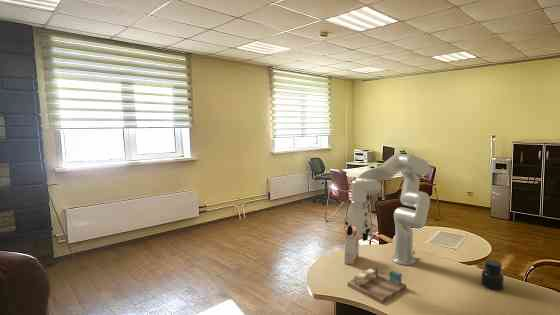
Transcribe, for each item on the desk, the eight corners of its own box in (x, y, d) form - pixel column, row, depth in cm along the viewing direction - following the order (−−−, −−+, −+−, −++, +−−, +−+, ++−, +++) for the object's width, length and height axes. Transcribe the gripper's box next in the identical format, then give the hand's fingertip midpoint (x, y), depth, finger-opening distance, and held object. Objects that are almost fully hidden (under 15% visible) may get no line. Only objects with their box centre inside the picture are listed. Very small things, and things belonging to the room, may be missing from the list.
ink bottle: (500, 283, 155) (501, 260, 154) (507, 292, 147) (508, 268, 145) (478, 280, 158) (479, 257, 157) (483, 289, 150) (484, 265, 149)
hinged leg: (373, 273, 163) (373, 266, 162) (378, 276, 160) (378, 268, 160) (354, 283, 154) (354, 276, 153) (359, 286, 151) (359, 278, 151)
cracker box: (354, 265, 178) (354, 230, 175) (344, 264, 180) (344, 229, 178) (359, 256, 190) (359, 222, 188) (349, 254, 193) (349, 221, 190)
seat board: (372, 273, 168) (372, 261, 167) (406, 288, 152) (406, 275, 151) (347, 286, 156) (347, 272, 155) (382, 303, 140) (382, 289, 139)
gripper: (377, 207, 152) (376, 241, 154) (349, 200, 166) (348, 231, 168) (367, 209, 148) (366, 244, 149) (340, 202, 161) (339, 234, 163)
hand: (357, 237), depth 158 cm, fingers open, 9 cm apart
